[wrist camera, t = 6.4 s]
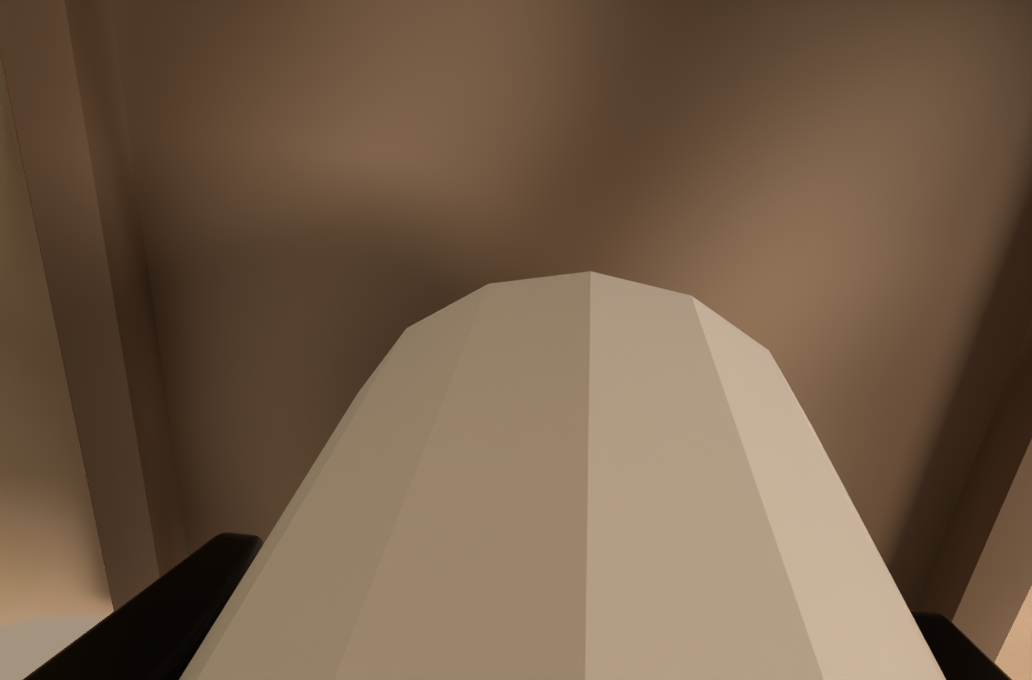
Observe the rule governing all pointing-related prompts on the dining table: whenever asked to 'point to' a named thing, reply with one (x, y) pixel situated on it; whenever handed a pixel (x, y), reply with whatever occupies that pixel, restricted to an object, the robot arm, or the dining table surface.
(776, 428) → the shot glass
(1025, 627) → the dining table surface
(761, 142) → the walnut tray
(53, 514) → the dining table surface
